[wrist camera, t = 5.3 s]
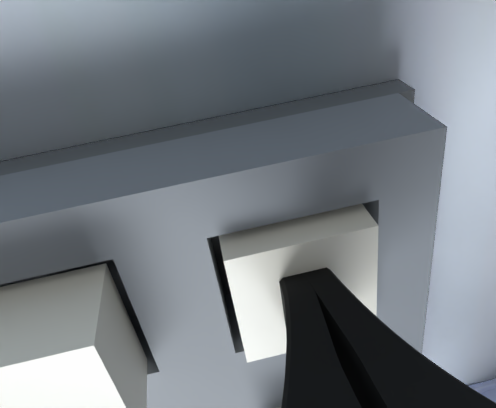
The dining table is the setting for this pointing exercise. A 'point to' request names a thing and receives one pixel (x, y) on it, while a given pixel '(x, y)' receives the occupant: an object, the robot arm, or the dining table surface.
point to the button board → (227, 223)
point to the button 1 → (69, 344)
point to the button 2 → (296, 268)
